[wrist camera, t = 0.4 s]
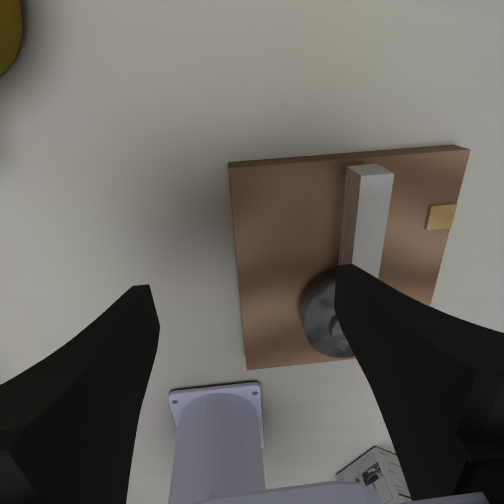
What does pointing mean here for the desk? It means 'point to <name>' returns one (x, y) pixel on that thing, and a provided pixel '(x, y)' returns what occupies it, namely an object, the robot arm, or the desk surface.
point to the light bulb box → (379, 475)
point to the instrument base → (331, 236)
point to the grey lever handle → (349, 254)
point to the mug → (9, 32)
